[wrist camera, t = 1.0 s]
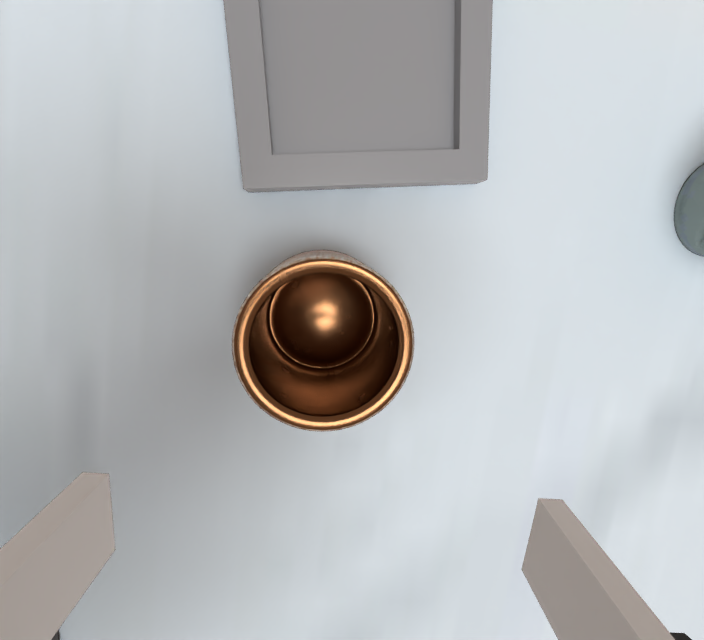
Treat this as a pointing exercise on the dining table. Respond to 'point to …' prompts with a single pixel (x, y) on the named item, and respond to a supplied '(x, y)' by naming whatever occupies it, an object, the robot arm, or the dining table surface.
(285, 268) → the planter
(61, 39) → the dining table surface
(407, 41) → the grey tray
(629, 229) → the dining table surface
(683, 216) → the grey cup
